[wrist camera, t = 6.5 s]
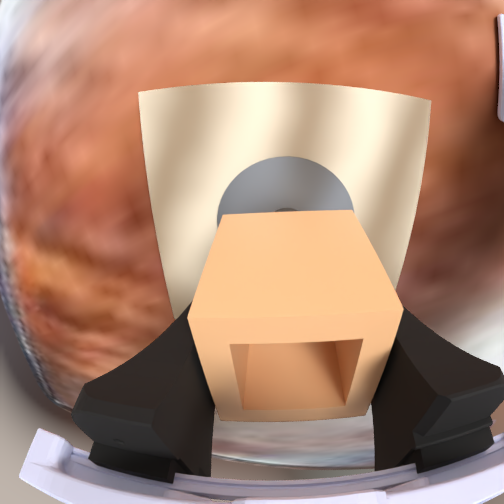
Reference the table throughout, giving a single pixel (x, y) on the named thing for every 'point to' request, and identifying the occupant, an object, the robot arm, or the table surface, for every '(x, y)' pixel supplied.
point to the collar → (293, 317)
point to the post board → (278, 164)
